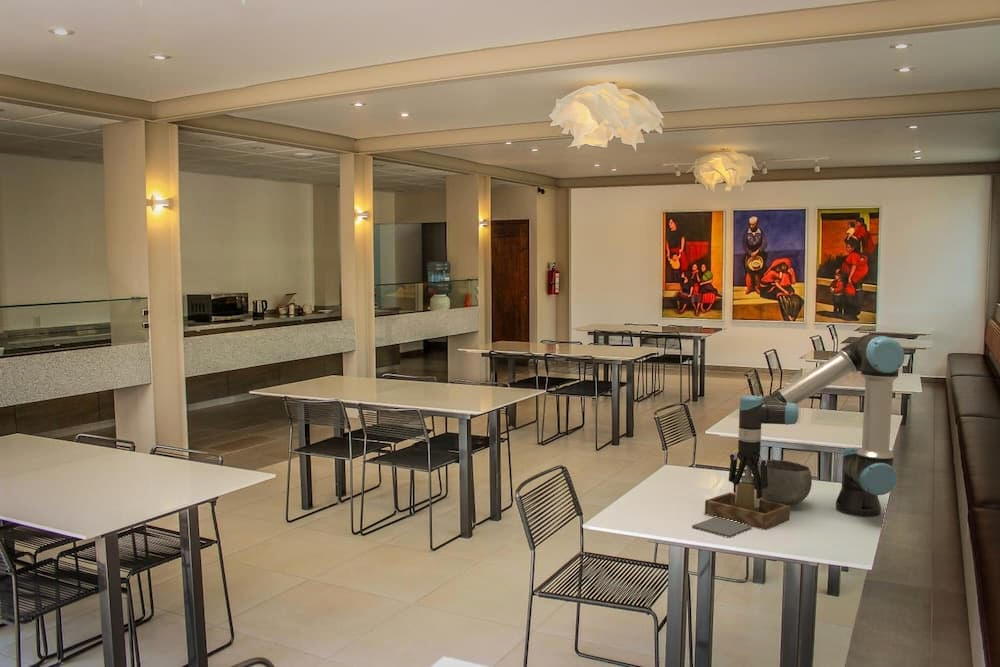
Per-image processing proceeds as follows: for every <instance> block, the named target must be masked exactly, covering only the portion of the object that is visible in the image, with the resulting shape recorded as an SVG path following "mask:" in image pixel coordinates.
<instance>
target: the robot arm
mask: <svg viewBox="0 0 1000 667" xmlns="http://www.w3.org/2000/svg"><path fill="white" fill-rule="evenodd" d="M904 361H905V350H904V348H903V347H902V345H901V344H900V342H898V341H897V340H895V339H894V338H892V337H889V336H886V335H885V336H884V335H878V334H876V333H870V334H865V335H862V336H860V337H858V338H857V339H856V338H855V340H853V341H852V342H850V343H848V344H846V345H845V346H843V347H841V348H840V349H839V350H838V353H837V354H836V355H835V356H833V357H831V358H830V359H827V360H826V361H824V362H823V363H821V364H820V365H818V366H816V367H814V368H813V369H812V370H809V371H808V372H807V373H805V374H802V376H800V377H798V378H796V379H795V380H793V381H792V382H790V383H789V384H787V385H785V386H783V387H782V388H781V389H779V390H777V391H776V392H773V393H772V394H771V395H769V394H766V395H763V396H759V395H752V394H750V395H749V394H748V395H742V396H741V397H740V400H739V408H738V410H739V413H738V415H739V416H738V439H739V440H737V441H738V442H737V450H738V451H737V453H732V454H729V459H730V463H729V464H730V466H729V473H728V482H730V483H731V484H733V492H732V493H735V503H736V497H737V490H738V483H739V482H741V476H744V473H745V470H746V468H747V466H748V467H750V469H751V474H752V476H753V477H754V481H755V485H756V488H755V489H754V505H755V508H757V507H759V501H760V499H762V489H764V488H767V487H768V479H767V465H768V460H769V459H767V458H766V459H764V458H762V457H761V448H762V447H761V443H762V442H761V440H762V425H763V424H765V425H769V424H771V425H785V426H788V425H795V424H797V422H798V421H799V420H798V419H799V408H798V404H799V403H801V402H803V401H805V400H806V399H808V398H810V397H811V396H813V395H815V394H816V393H818V392H820V391H822V390H823V389H825V388H827V387H829V386H830V385H831V384H833V383H835V382H836V381H838V380H840V379H841V378H843V377H845V376H847V375H848V374H850V373H857V372H859V371H860V375H861V376H862V377H863V378H864V379H865V385H864V400H863V404H864V405H863V417H862V419H863V421H862V440H861V447H845V448H844V449H843V453H842V454H843V455H842V473H841V488H840V491H839V494H838V496H837V499H836V500H835V509H836V510H837V511H838V512H840V513H843V514H847V515H850V516H858V517H876V516H877V517H878V516H880V515H881V514H882V506H881V503H880V502H881V501H880V499H879V496H882V495H883V496H884V495H887V494H889V493H890V492H891V491H893V490H894V488H895V487H896V485H897V483H898V473H897V471H896V470H895V468H894V460H895V459H894V456H895V455H894V454H893V453H892V452H891V451H890V442H891V441H890V440H891V423H892V422H891V421H892V404H893V389H894V388H893V386H894V385H893V384H894V381H895V380H897V378H899V370H900V368H901V367H902V366H903V364H904ZM738 460H739V463H738ZM758 462H760V465H761V466H760V473H761V477H760V474H759V470H758V468H759V467H758ZM737 468H738V469H737Z"/></svg>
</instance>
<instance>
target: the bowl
mask: <svg viewBox="0 0 1000 667" xmlns="http://www.w3.org/2000/svg"><path fill="white" fill-rule="evenodd" d="M767 460H768V465H767V479H768V487H767V488H764V489H762V497H761V499H762V500H766V501H770V502H774V503H779V504H783V505H788V506H793V505H797V504H800V503H801V502H803V501H805V499H806V498H807V497H808V496H809V494H810V492H811V489H812V484H813V481H812V480H813V479H812V472H811V470H810V467H808V466H806V465H803V464H801V463H799V462H795V461H793V462H792V461H788V460H783V459H782V460H781V459H767ZM760 466H761V465H760V461H759V462H758V467H759V468H758V470H759V474H760V477H761V473H760ZM754 483H755V482H754Z"/></svg>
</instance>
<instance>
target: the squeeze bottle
mask: <svg viewBox="0 0 1000 667" xmlns="http://www.w3.org/2000/svg"><path fill="white" fill-rule="evenodd" d="M754 482H755V481H754V477H753V473H752V470H751V469H750V467H748V466H746V467H745V471H744V474H743V475H742V476H741V480H740V482H739V483H738V490H737V497H736V504H735V507H739V508H743V509H747V510H751V511H756V512H758V510H759V507H757V508H755V505H754V489H755V488H756V485H755V483H754Z"/></svg>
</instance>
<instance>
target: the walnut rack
mask: <svg viewBox="0 0 1000 667" xmlns="http://www.w3.org/2000/svg"><path fill="white" fill-rule="evenodd" d="M704 501H705V502H704V515H706V514H709V515H708V516H710V515H713V516H717V517H721V518H725V519H729V520H733V521H737V522H740V523H739V524H741V523H744V524H743V525H745V524H747V526H749V525H750V526H751V527H753V526H754V527H753V528H756V527H757V529H760V528H761V530H764V531H766V530H768V529H771V528H774V527H776V526H778V524H779V525H780V524H783V523H786V522H788V521H790V513H791V512H790V511H791V510H790V509H791V508H790V507H791V505H783V504H779V503H774V502H770V501H766V500H764V499H762V498H760V501H759V510H758V512H756V511H751V510H747V509H743V508H739V507H735V504H736V503H735V493H734V492H730V491H729V492H727V493H724V494H721V495H718V496H715V497H712V498H709V499H705V500H704ZM713 516H712V517H713ZM717 517H716V518H717ZM721 518H720V519H721ZM725 519H724V520H725ZM729 520H728V521H729ZM733 521H732V522H733ZM785 521H786V522H785ZM737 522H736V523H737Z"/></svg>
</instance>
